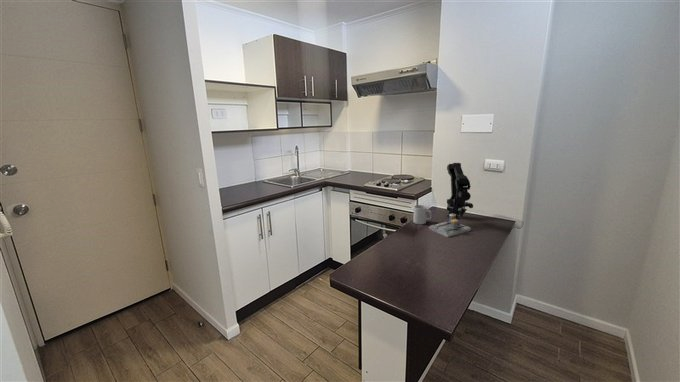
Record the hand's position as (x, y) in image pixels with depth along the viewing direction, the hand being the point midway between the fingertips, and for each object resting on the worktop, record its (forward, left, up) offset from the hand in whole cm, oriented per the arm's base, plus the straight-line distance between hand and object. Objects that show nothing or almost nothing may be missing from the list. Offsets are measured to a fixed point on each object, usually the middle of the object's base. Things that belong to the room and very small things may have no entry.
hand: (459, 219), depth 185 cm
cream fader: (+7, 0, -1) cm, 7 cm away
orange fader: (+14, +8, -1) cm, 16 cm away
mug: (+19, -14, -4) cm, 24 cm away
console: (+14, +4, -3) cm, 14 cm away
